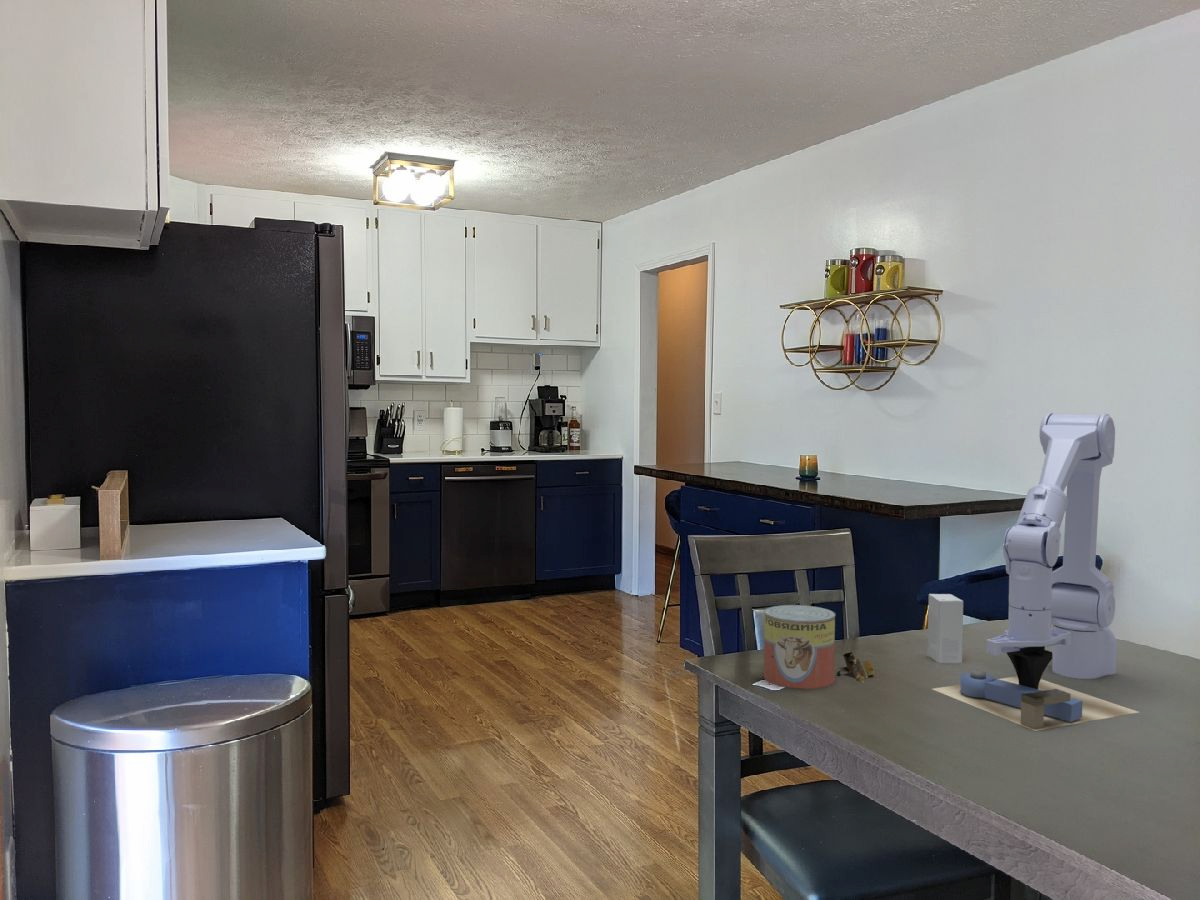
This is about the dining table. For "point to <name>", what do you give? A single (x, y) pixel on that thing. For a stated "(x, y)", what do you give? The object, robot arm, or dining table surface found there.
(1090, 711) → the board
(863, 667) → the regulator
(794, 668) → the canned food
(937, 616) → the skincare box
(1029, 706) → the keeper
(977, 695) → the link
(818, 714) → the dining table surface
